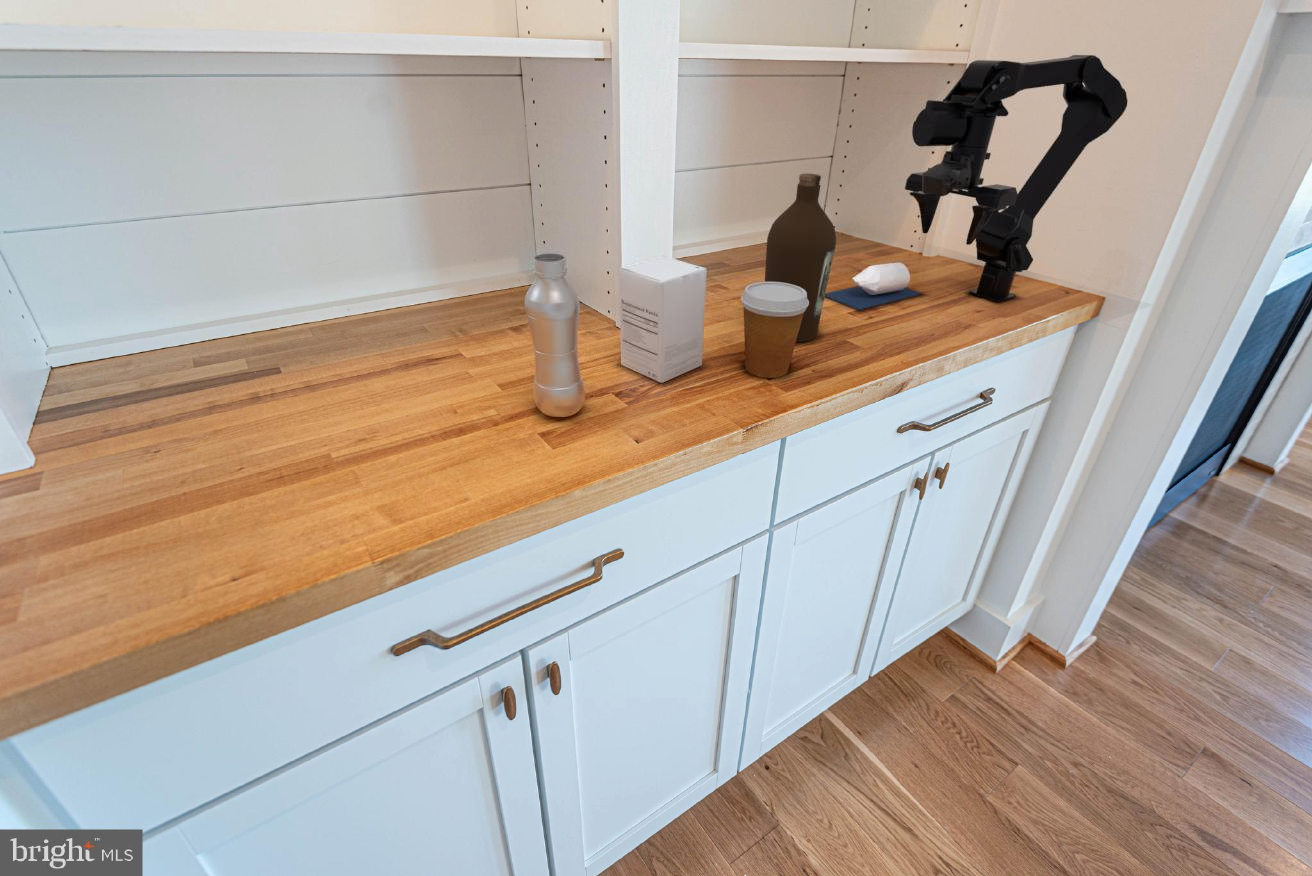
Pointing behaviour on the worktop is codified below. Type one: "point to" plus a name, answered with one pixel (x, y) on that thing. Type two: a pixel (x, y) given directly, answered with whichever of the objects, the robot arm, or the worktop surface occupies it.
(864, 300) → the cloth
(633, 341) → the white product box
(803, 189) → the olive oil
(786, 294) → the disposable coffee cup
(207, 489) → the worktop surface
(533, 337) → the plastic bottle
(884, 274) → the white tapered cylinder
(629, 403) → the worktop surface
